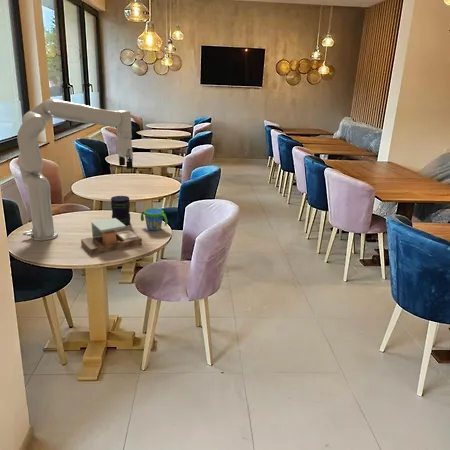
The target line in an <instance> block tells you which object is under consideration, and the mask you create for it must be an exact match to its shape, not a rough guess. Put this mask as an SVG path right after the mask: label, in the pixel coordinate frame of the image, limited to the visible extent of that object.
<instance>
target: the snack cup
mask: <svg viewBox="0 0 450 450" xmlns="http://www.w3.org/2000/svg"><path fill="white" fill-rule="evenodd" d="M163 219H164V227H166V226H167V225H168V222H169V221H168V218H167V215H166V213H165V212H164V210H163V209H161V208H154V207H153V208H146V209H144V210H143V211H142V212H141V214H140V221H141V222H143V221H145V224H146V229H147V231H153V232H155V231H159V230H161V229H162V224H163Z"/></svg>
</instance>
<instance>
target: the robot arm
mask: <svg viewBox="0 0 450 450" xmlns="http://www.w3.org/2000/svg"><path fill="white" fill-rule="evenodd" d="M52 119H59V120H64V121H65V120H66V121H71V122H77V123H84V124H92V125H93V124H94V125H99V126H107V127H112V128H116V138H117V142H116V151H117V152H116V153H117V155H118V164H119V166H121V167H122V166H125V167H126V169H127V170H130V169H133V167H134V166H133V157H134V154H133V144H132V138H133V135H132V113H131V111H130V110H127V109H124V110H120V109H119V110H109V109H103V108H97V107H93V106H90V105H86V104H83V103H82V104H81V103H77V102H71V101H65V100H61V99H57V98H56V99H55V98H47V99H46V100H44V101H42V102H41V103H39V104H37V105H36V106H34V107H33V108H31V109H30V110H28V111H27V112H26V113H25V114H24V115H23V117H22V119H21V120H22V123H21V125H20V127H19V129H18V132H17V144H18V149H19V154H18V157H17V162H18V168H19V171H20V175H21V179H22V182H23V185H24V186H25V188H27V190H28V201H29V209H30V216H31V223H32V225H31V226H32V227H31V229H30V230H26V231H22V236H27V237H30V239H31V240H33V241H36V242H37V241H38V242H39V241H41V242H42V241H49V240H53V239H55V238H56V237H58V231H56V230H55V227H54V218H53V217H54V216H53V210H52V202H51V183H50V181H49V180H48V178H47V177H46V176H44V175H43V171H42V169H43V167H44V161H43V158H42V153H41V149H40V145H39V136H40V134H42V132H43V131H44V130H45V129H46V128H47V122H49V121H51V120H52Z"/></svg>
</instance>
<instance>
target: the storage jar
mask: <svg viewBox="0 0 450 450" xmlns="http://www.w3.org/2000/svg"><path fill="white" fill-rule="evenodd" d="M130 202H131V201H130V197H129V196H127V195H115V196H112V197H110V205H111V211H112V212H111V213H112V215H111V219H113V218H116V219H117V220H119V221H120V222H121V223H123V224H124V225H126V227H128V225H129V226H130V225H131V214H130V207H131V206H130Z"/></svg>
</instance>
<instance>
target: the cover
mask: <svg viewBox="0 0 450 450" xmlns="http://www.w3.org/2000/svg"><path fill="white" fill-rule="evenodd" d="M90 223H91V234H92V235H91V237H98V236H102V232H106V231H111V230H114V231H115V232H116V233H117V232H118V230H121V229H126V228H127V226H126V225H124V224H123V223H121V222H120V221H119V220H117V219H116V218H113V219H112V218H108V219H107V218H106V219H102V220H96V221H91V222H90Z"/></svg>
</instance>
